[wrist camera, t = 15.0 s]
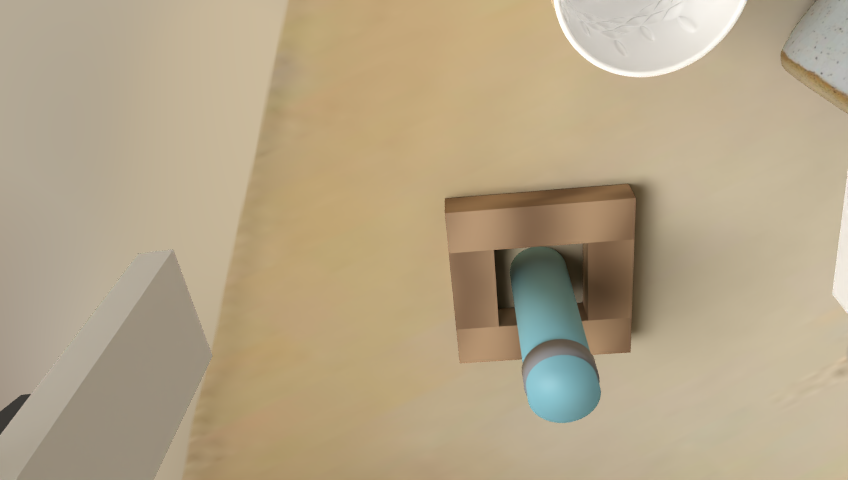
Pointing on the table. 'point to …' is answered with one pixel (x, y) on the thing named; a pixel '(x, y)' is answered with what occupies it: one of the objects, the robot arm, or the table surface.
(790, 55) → the ceramic mug
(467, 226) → the square hole plate
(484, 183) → the table surface
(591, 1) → the white cup
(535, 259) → the banded teal cylinder
